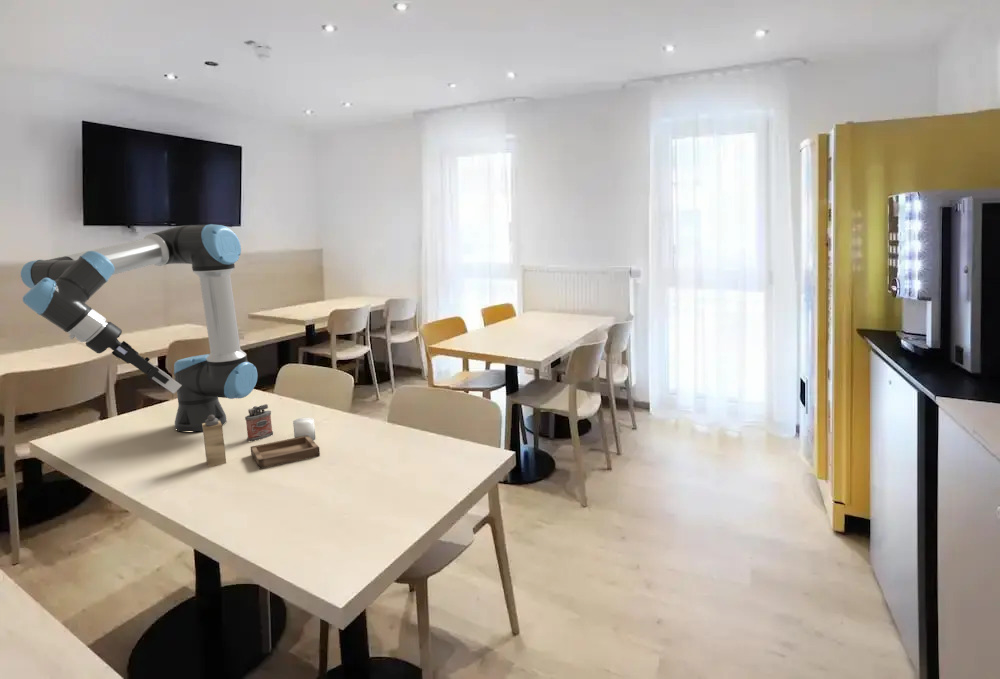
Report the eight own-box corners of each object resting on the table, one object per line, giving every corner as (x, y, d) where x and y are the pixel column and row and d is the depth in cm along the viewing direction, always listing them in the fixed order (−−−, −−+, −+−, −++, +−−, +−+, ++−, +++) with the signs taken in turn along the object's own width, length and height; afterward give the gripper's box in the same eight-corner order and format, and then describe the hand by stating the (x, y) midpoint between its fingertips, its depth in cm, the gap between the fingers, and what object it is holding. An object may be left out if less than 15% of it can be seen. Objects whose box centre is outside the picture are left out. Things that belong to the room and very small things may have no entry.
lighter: (251, 442, 173) (247, 410, 171) (245, 440, 175) (241, 408, 173) (275, 434, 180) (272, 403, 178) (269, 432, 182) (266, 402, 180)
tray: (251, 455, 163) (250, 446, 163) (308, 443, 172) (308, 435, 171) (259, 469, 153) (258, 460, 153) (319, 455, 162) (319, 447, 161)
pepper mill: (206, 461, 159) (201, 414, 157) (224, 458, 161) (218, 411, 159) (208, 466, 155) (202, 418, 153) (226, 463, 158) (220, 415, 155)
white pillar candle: (292, 438, 176) (290, 420, 175) (312, 434, 179) (311, 416, 178) (297, 444, 171) (295, 425, 170) (317, 440, 174) (316, 421, 173)
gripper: (79, 338, 146) (152, 388, 157) (88, 350, 127) (171, 405, 138) (102, 316, 148) (173, 366, 160) (115, 324, 129) (193, 381, 141)
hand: (172, 384), depth 149 cm, fingers open, 13 cm apart
